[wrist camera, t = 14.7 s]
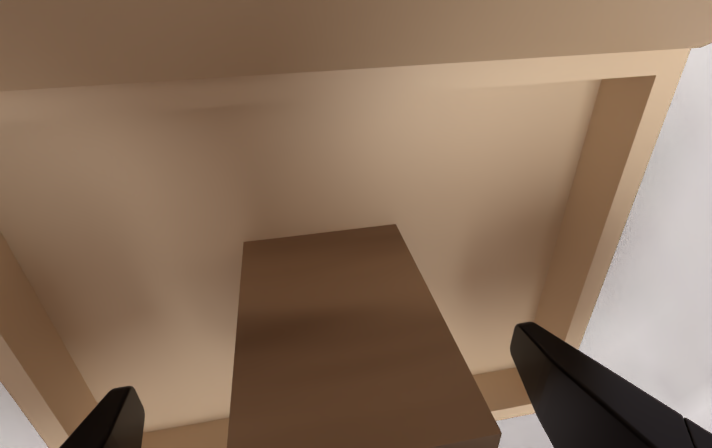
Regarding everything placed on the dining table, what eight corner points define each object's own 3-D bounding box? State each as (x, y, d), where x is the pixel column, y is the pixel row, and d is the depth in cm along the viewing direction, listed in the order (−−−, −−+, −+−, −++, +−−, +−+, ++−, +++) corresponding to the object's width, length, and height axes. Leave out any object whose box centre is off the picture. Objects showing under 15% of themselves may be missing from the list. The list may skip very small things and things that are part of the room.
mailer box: (526, 364, 16) (555, 409, 15) (107, 437, 14) (86, 500, 13) (622, 29, 10) (693, 41, 8) (-106, 69, 8) (-207, 96, 6)
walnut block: (392, 330, 13) (469, 551, 8) (265, 350, 13) (264, 600, 8) (395, 224, 11) (502, 433, 6) (243, 242, 11) (223, 488, 6)
